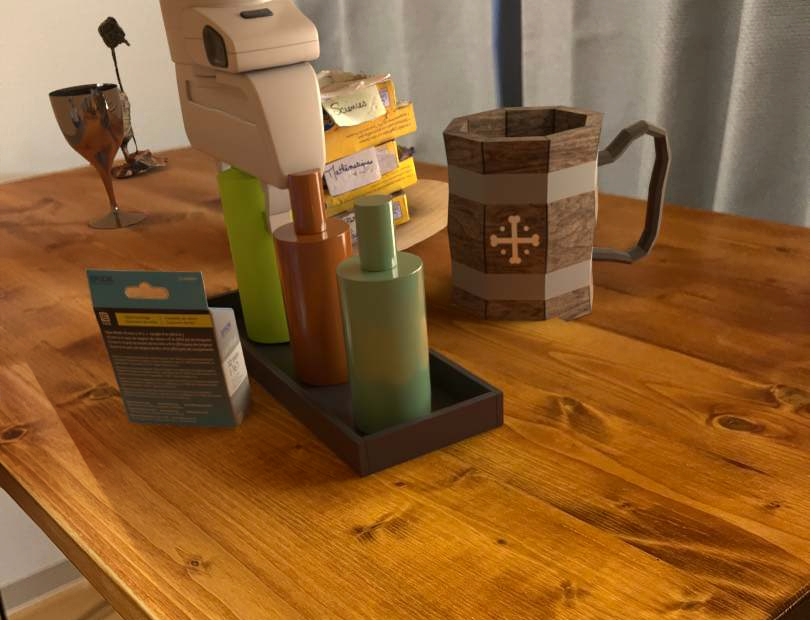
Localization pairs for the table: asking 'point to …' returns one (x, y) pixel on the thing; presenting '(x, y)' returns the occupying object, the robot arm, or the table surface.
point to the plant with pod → (126, 110)
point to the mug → (535, 209)
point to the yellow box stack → (375, 156)
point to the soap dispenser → (253, 256)
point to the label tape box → (171, 349)
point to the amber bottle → (312, 281)
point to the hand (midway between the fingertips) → (261, 224)
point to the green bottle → (383, 323)
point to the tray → (333, 415)
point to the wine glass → (95, 137)
